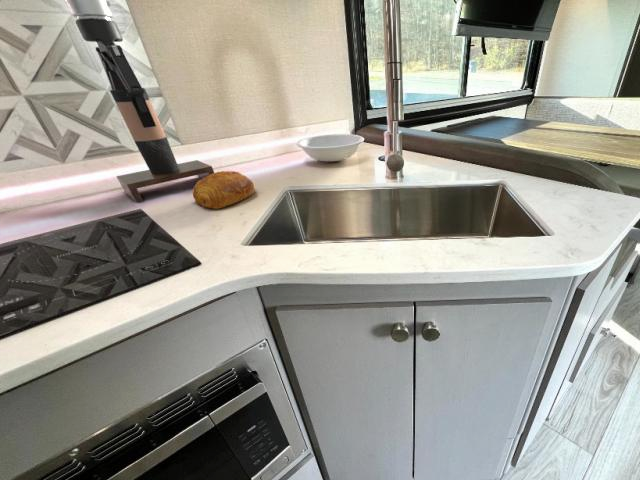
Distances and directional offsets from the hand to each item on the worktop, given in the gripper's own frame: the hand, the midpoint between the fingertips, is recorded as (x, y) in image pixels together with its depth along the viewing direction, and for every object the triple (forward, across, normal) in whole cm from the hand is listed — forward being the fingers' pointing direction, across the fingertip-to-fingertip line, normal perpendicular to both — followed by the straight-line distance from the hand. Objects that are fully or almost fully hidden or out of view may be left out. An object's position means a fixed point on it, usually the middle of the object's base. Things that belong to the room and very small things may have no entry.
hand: (142, 124), depth 85 cm
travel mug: (+12, 0, 0) cm, 12 cm away
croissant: (+17, -24, -7) cm, 30 cm away
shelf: (+17, 0, 0) cm, 17 cm away
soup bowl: (+17, -13, -51) cm, 55 cm away
